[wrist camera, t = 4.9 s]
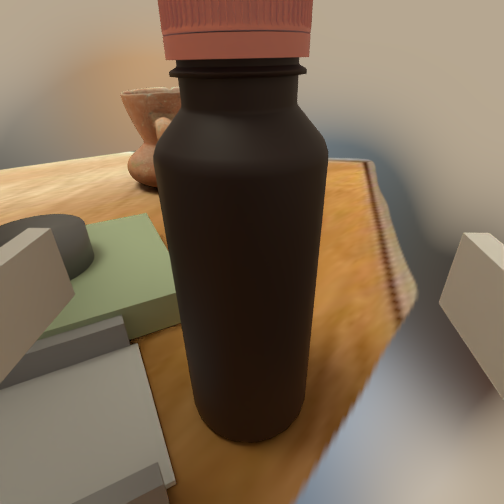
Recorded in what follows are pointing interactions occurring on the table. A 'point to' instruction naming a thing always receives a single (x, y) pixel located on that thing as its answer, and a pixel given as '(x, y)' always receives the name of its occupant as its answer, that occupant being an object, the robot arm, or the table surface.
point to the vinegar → (242, 207)
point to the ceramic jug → (149, 125)
